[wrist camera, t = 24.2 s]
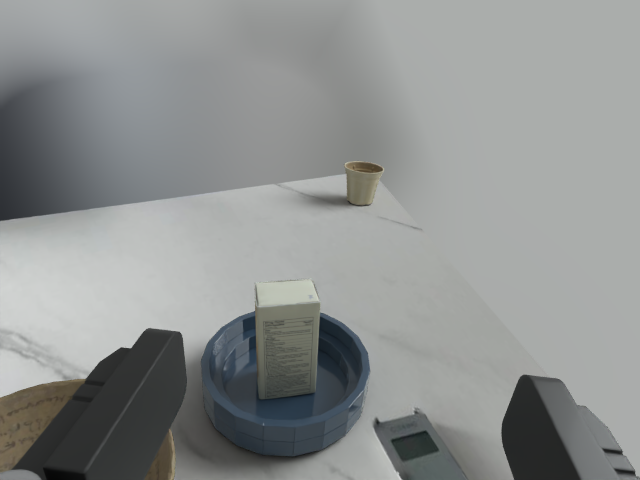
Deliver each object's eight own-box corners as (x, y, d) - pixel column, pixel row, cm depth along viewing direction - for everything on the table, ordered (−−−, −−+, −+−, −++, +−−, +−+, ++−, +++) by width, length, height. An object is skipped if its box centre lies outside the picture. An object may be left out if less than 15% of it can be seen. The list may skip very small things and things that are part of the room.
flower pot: (375, 195, 104) (380, 162, 100) (382, 209, 96) (388, 173, 92) (338, 193, 103) (342, 160, 100) (343, 207, 95) (346, 171, 91)
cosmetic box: (308, 365, 48) (315, 277, 43) (316, 394, 44) (324, 301, 39) (253, 371, 47) (253, 280, 41) (255, 401, 43) (256, 305, 37)
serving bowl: (378, 357, 51) (383, 328, 49) (339, 487, 36) (344, 454, 34) (250, 321, 56) (250, 294, 53) (168, 424, 40) (164, 391, 38)
